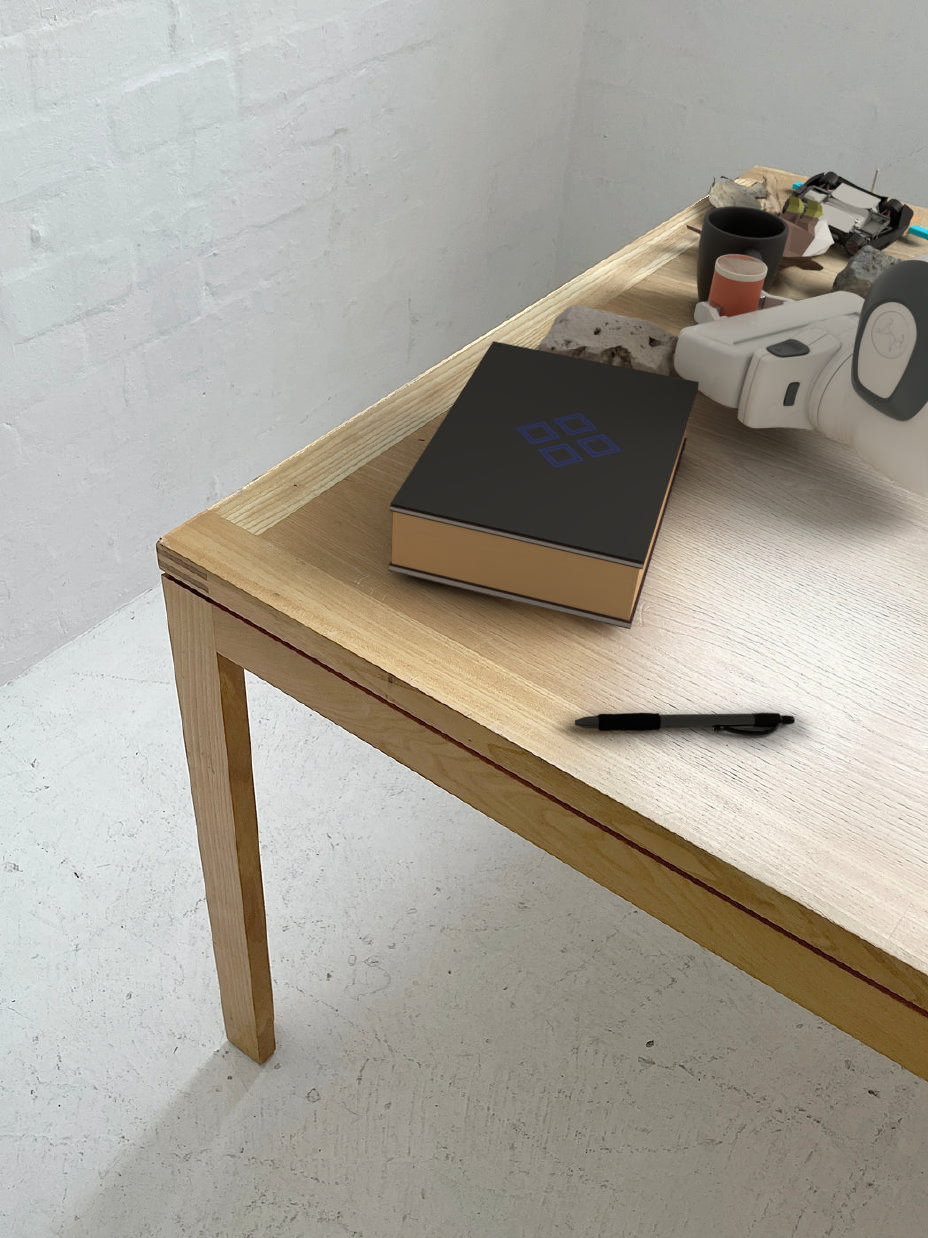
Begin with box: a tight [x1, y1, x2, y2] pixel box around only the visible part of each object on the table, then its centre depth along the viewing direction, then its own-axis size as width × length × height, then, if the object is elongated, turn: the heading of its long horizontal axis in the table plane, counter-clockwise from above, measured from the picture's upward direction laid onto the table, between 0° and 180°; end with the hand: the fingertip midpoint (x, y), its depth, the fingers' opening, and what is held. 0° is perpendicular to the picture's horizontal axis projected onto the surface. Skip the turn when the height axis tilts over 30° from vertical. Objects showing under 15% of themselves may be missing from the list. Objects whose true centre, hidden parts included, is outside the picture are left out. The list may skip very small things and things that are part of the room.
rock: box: [830, 245, 906, 299], centre depth 118 cm, size 12×10×5 cm
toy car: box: [781, 171, 915, 257], centre depth 131 cm, size 7×15×4 cm, turn 38°
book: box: [388, 341, 699, 630], centre depth 85 cm, size 17×25×7 cm
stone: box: [534, 304, 679, 376], centre depth 103 cm, size 13×6×10 cm
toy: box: [685, 195, 835, 272], centre depth 122 cm, size 16×16×7 cm
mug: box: [696, 206, 789, 303], centre depth 111 cm, size 8×12×10 cm
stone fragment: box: [695, 170, 782, 240], centre depth 135 cm, size 19×8×5 cm
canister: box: [708, 254, 767, 317], centre depth 102 cm, size 4×4×10 cm
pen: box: [574, 711, 796, 738], centre depth 70 cm, size 14×2×1 cm, turn 95°
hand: (725, 302), depth 102 cm, fingers closed on canister, 4 cm apart
